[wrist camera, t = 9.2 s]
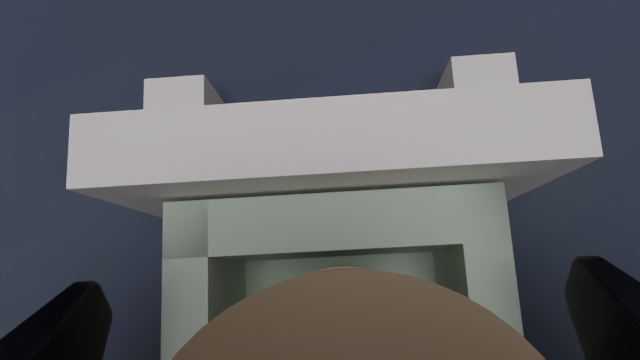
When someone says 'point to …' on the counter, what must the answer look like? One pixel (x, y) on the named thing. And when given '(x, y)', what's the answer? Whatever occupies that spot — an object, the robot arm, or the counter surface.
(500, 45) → the counter surface
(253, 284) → the cradle
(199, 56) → the counter surface
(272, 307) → the dowel
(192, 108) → the backstop wall
